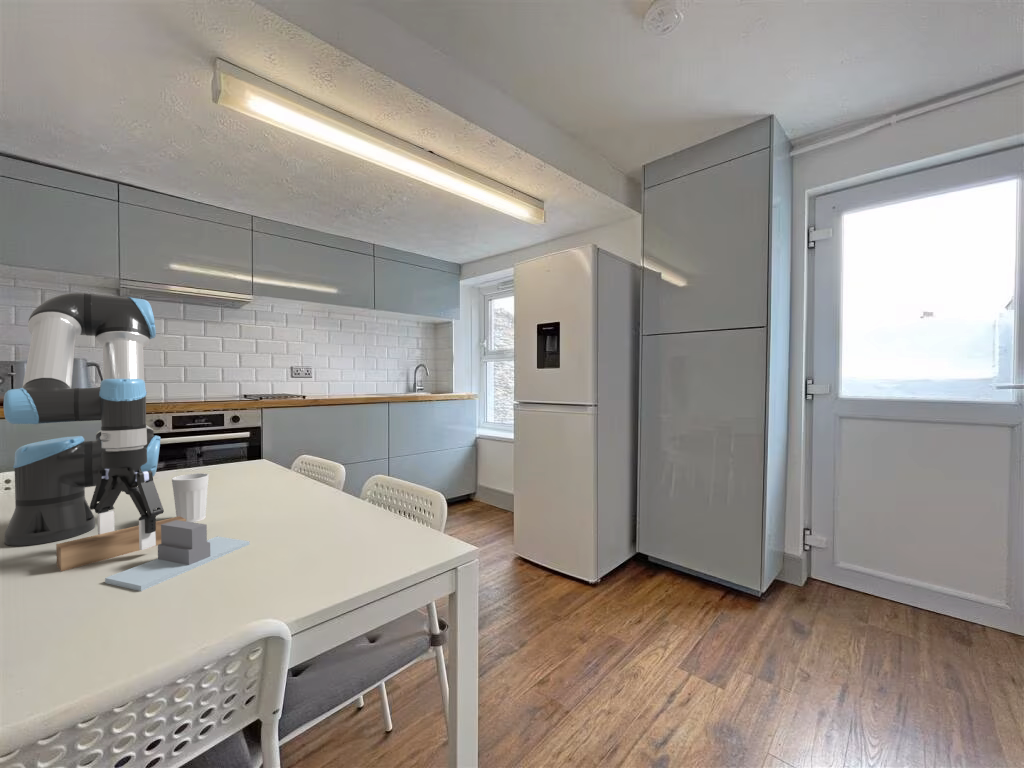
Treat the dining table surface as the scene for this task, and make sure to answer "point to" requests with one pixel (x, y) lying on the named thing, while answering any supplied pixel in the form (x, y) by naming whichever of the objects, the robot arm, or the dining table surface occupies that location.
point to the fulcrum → (176, 555)
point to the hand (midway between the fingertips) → (126, 544)
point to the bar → (103, 546)
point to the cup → (191, 496)
